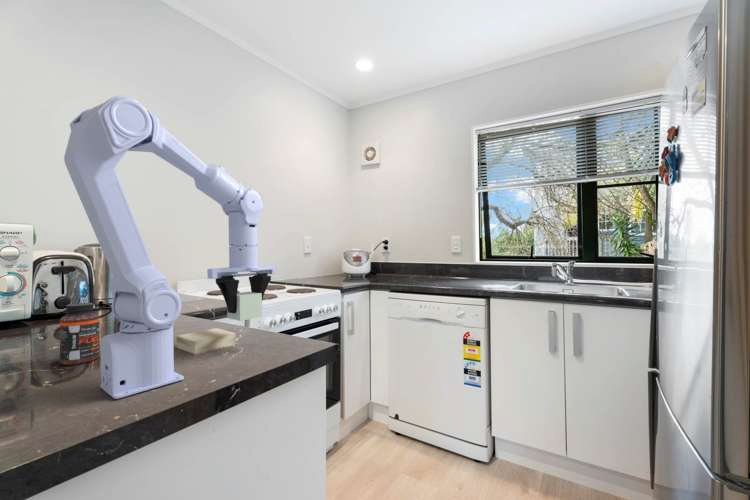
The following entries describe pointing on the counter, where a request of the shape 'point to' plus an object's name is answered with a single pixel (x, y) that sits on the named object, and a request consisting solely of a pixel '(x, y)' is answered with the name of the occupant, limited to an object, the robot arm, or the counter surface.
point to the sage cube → (247, 306)
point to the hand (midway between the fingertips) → (244, 310)
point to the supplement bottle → (79, 334)
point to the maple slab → (205, 340)
